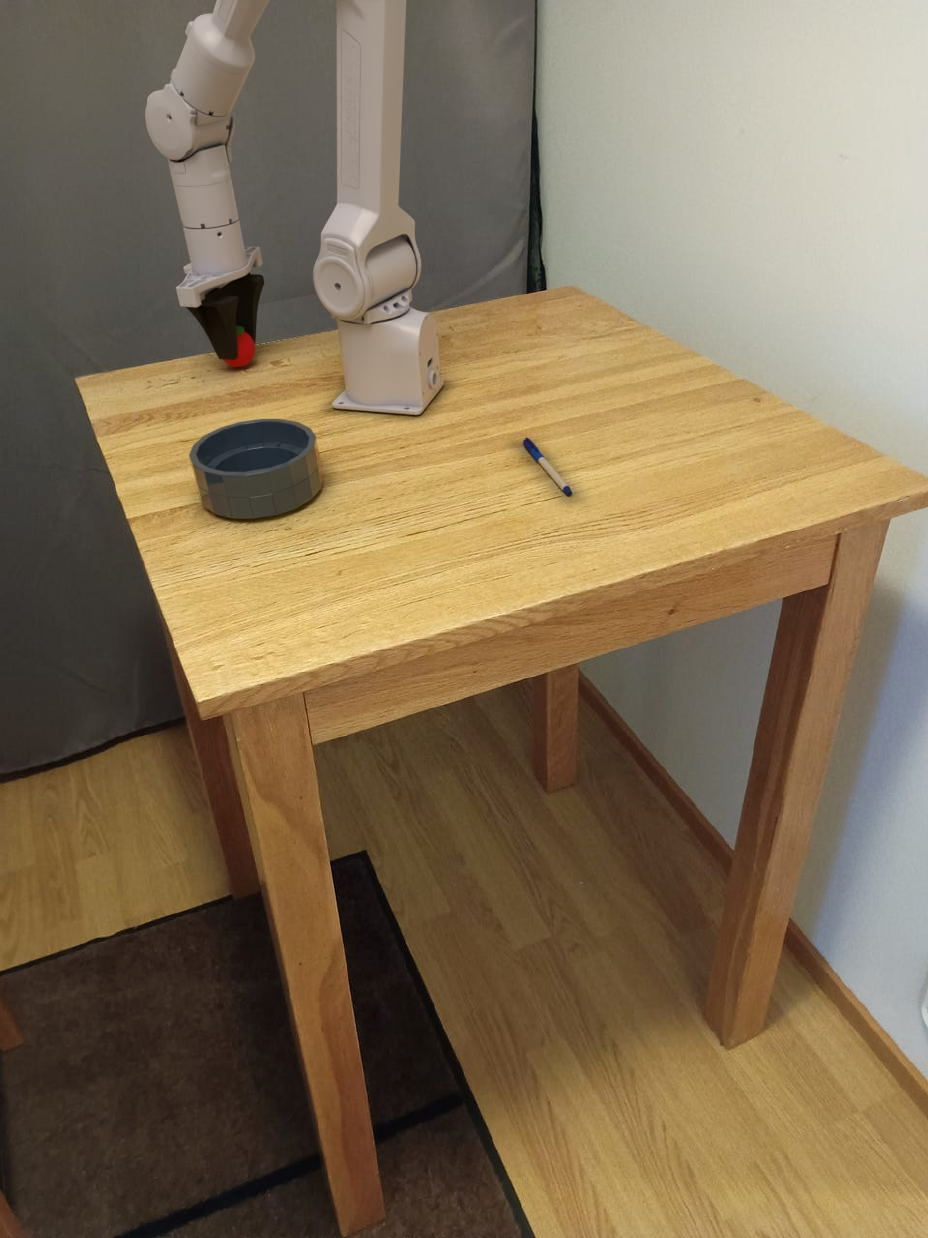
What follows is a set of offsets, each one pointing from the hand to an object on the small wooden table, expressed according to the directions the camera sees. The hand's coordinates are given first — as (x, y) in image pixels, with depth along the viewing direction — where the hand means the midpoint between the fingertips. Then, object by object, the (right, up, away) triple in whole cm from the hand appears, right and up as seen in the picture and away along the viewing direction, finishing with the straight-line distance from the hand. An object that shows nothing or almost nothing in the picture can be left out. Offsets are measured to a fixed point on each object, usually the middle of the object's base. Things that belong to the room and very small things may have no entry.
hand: (237, 351), depth 103 cm
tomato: (0, -1, +1) cm, 2 cm away
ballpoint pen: (+32, -17, -22) cm, 43 cm away
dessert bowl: (+8, -19, -23) cm, 31 cm away
